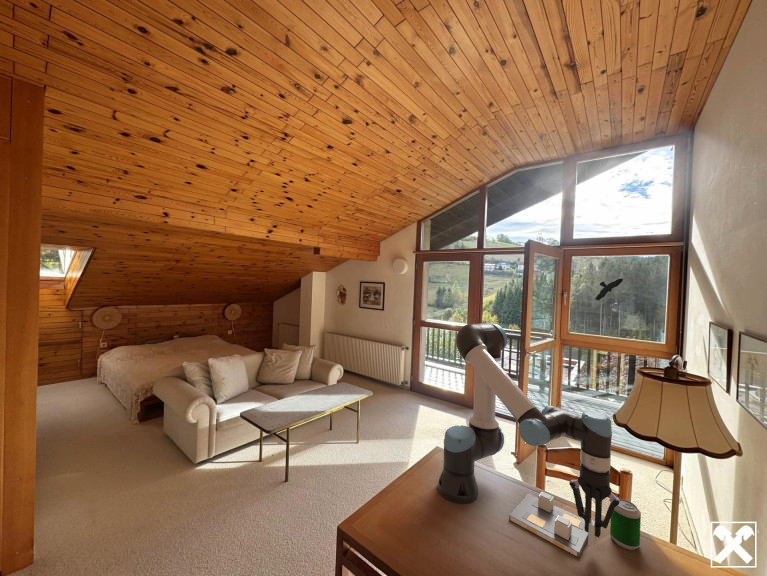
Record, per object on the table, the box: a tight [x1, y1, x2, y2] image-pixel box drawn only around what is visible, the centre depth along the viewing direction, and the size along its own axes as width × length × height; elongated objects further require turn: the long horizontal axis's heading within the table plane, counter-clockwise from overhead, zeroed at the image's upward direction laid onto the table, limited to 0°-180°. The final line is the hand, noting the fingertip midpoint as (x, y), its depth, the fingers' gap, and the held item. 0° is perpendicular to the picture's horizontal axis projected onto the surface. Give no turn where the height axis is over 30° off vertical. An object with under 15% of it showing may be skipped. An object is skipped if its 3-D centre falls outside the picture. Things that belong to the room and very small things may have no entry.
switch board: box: [508, 492, 589, 558], centre depth 108 cm, size 21×17×2 cm
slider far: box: [537, 491, 555, 512], centre depth 114 cm, size 4×4×4 cm
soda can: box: [609, 498, 642, 551], centre depth 101 cm, size 8×8×12 cm
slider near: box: [554, 515, 572, 540], centre depth 101 cm, size 4×4×4 cm
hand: (592, 544), depth 96 cm, fingers closed
